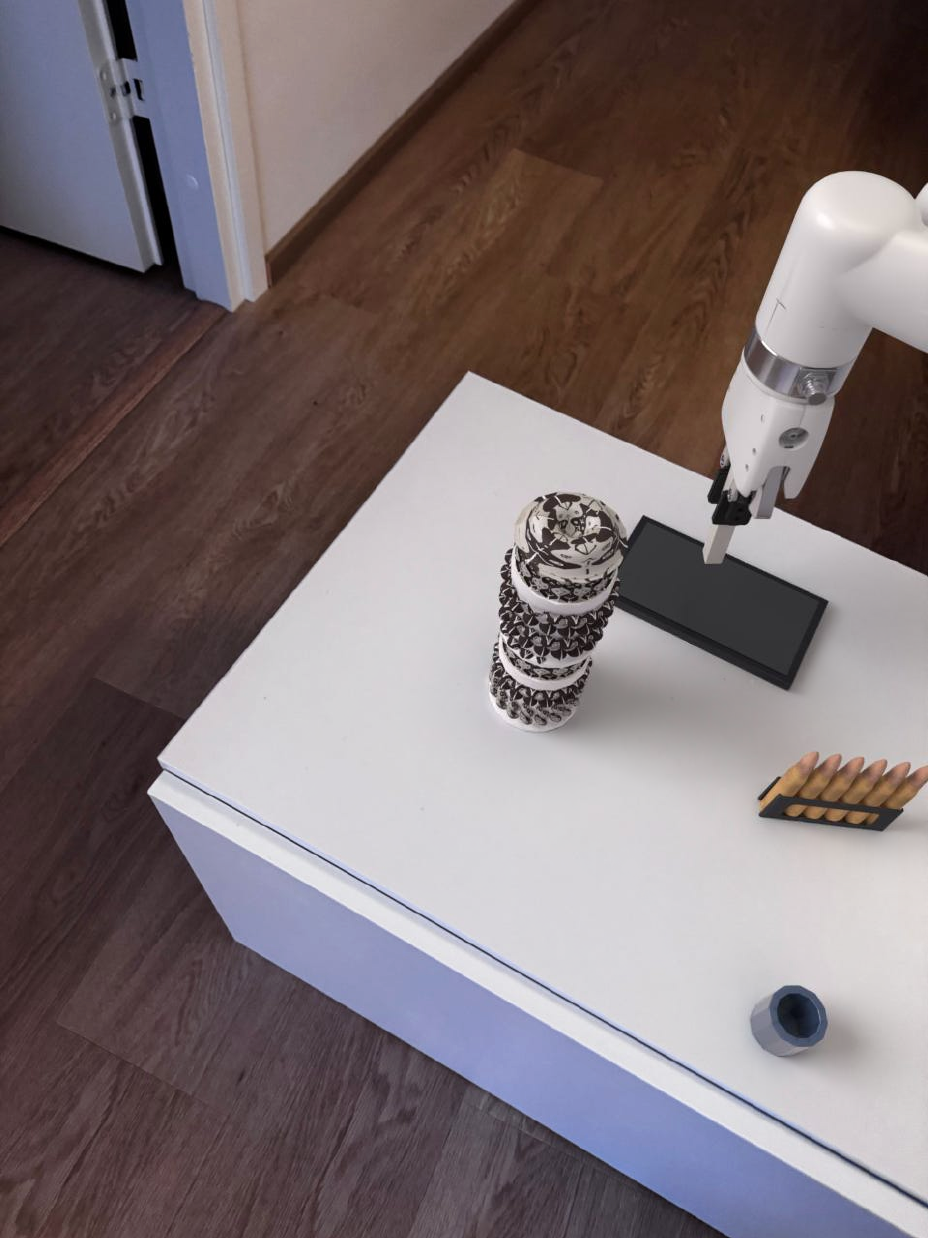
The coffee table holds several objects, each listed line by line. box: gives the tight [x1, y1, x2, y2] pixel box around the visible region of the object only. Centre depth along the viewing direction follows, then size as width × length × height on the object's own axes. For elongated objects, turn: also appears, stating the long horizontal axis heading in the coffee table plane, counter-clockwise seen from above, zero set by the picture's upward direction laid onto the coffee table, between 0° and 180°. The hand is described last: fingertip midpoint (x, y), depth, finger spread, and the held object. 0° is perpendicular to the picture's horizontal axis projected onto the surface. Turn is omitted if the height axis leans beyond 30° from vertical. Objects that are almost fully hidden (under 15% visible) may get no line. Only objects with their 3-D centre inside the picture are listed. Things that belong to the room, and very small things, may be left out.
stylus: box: [703, 467, 736, 566], centre depth 86 cm, size 2×2×14 cm
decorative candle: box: [488, 491, 628, 733], centre depth 78 cm, size 9×9×25 cm
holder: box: [749, 984, 829, 1057], centre depth 72 cm, size 4×4×5 cm
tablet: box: [606, 514, 830, 692], centre depth 95 cm, size 20×11×1 cm, turn 60°
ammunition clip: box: [757, 751, 928, 832], centre depth 79 cm, size 11×2×12 cm, turn 84°
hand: (727, 510), depth 85 cm, fingers closed on stylus, 1 cm apart
